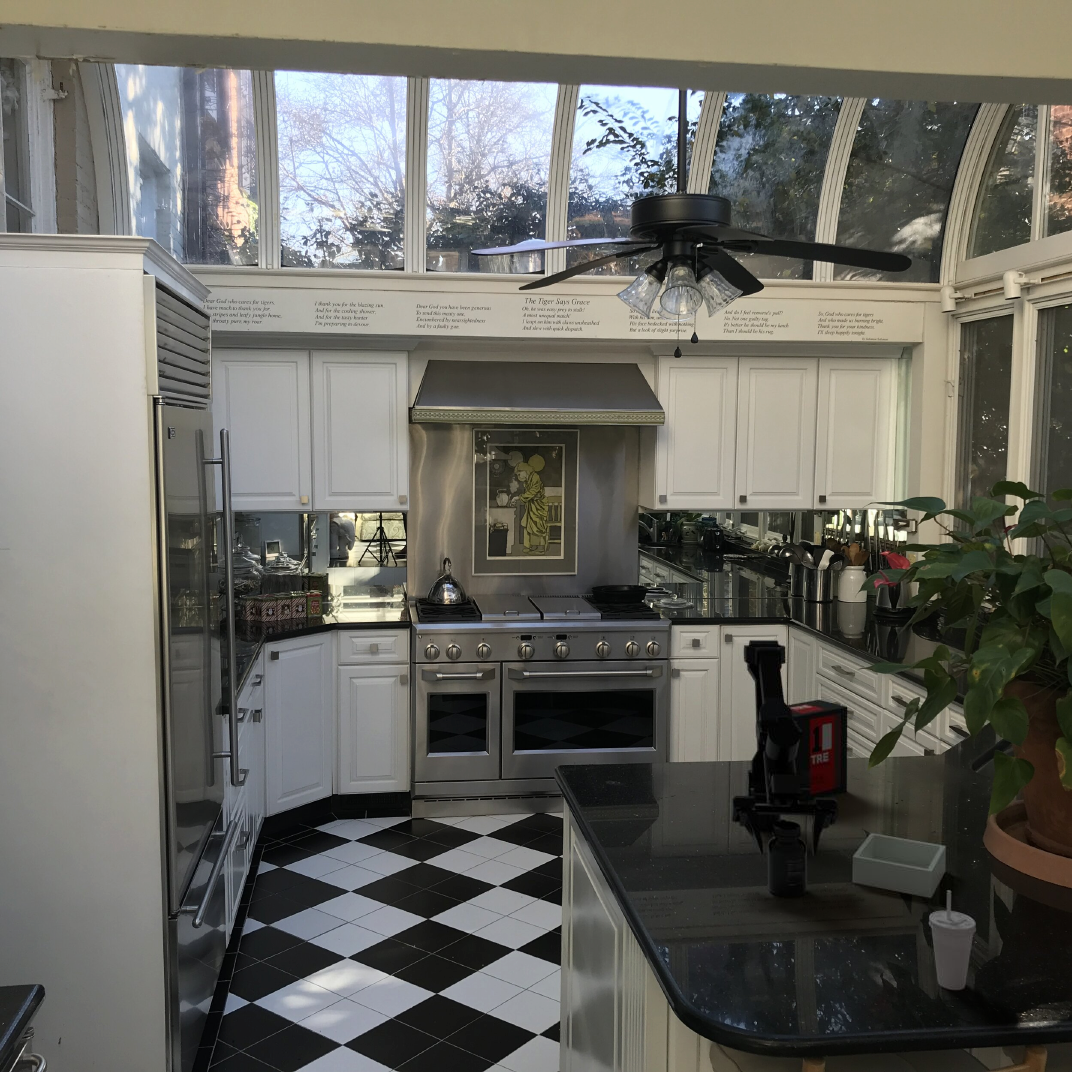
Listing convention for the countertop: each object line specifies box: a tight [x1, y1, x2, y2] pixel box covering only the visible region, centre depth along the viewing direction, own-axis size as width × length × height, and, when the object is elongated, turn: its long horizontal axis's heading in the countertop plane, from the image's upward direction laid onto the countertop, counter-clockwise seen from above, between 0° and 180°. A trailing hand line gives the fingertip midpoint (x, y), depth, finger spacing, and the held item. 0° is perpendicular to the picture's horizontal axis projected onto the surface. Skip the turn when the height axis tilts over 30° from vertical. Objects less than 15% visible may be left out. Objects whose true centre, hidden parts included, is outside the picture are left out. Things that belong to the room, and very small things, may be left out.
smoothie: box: [928, 889, 977, 991], centre depth 149 cm, size 6×6×14 cm
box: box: [852, 832, 947, 899], centre depth 187 cm, size 14×14×5 cm
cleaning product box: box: [787, 699, 848, 804], centre depth 235 cm, size 16×9×20 cm, turn 120°
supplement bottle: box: [767, 820, 808, 898], centre depth 182 cm, size 7×7×12 cm
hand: (788, 854), depth 181 cm, fingers open, 9 cm apart
